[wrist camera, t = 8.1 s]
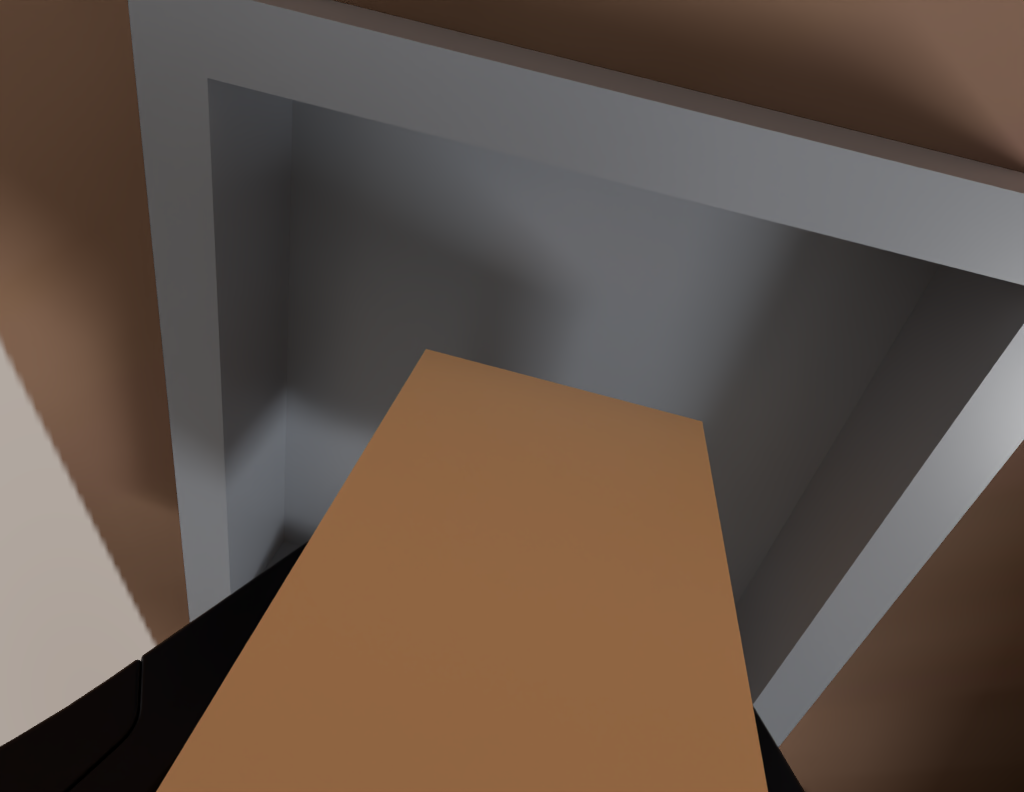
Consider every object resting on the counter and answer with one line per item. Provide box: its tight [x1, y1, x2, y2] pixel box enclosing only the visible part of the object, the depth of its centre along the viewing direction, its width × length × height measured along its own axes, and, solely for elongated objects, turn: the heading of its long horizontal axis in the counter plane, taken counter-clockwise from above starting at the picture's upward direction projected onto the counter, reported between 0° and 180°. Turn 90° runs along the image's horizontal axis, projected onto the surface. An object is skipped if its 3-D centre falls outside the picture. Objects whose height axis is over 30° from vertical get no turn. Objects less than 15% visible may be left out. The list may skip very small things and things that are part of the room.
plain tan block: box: [156, 349, 768, 792], centre depth 8 cm, size 4×4×8 cm
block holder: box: [128, 0, 1024, 747], centre depth 12 cm, size 13×13×3 cm
